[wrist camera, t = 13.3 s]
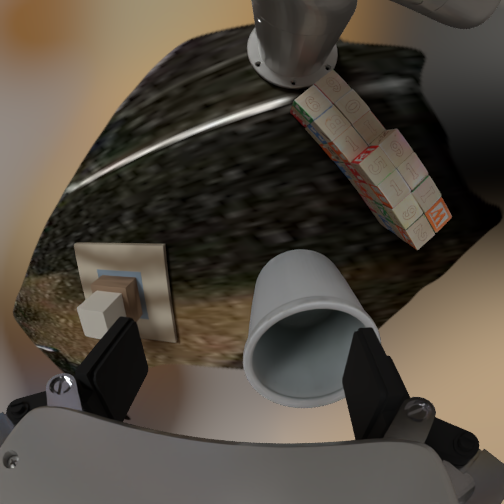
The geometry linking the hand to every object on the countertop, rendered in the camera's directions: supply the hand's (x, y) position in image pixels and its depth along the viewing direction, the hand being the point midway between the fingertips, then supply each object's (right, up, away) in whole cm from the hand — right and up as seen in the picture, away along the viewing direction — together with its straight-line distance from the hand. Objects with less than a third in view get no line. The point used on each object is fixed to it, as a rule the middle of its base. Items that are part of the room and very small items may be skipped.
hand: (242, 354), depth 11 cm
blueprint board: (-22, -3, +35) cm, 41 cm away
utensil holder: (+8, -2, +32) cm, 33 cm away
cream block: (-22, -4, +30) cm, 38 cm away
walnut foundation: (-22, -3, +34) cm, 40 cm away
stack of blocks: (+15, +18, +25) cm, 34 cm away
